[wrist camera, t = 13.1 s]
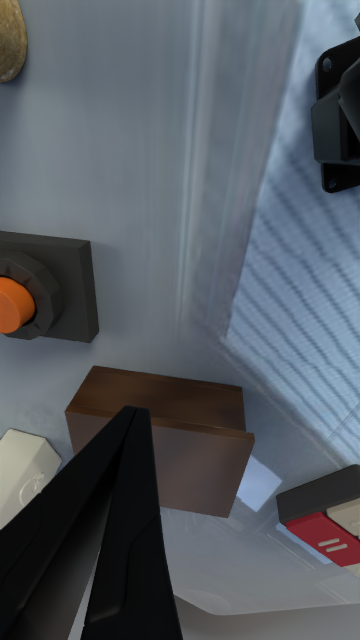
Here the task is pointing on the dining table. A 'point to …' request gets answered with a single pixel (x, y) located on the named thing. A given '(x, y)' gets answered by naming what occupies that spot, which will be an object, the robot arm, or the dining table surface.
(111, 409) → the wooden box
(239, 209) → the dining table surface
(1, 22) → the sprinkles bottle
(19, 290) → the button
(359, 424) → the dining table surface
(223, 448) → the lid
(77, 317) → the control block
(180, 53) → the dining table surface
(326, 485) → the calculator
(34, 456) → the jar
